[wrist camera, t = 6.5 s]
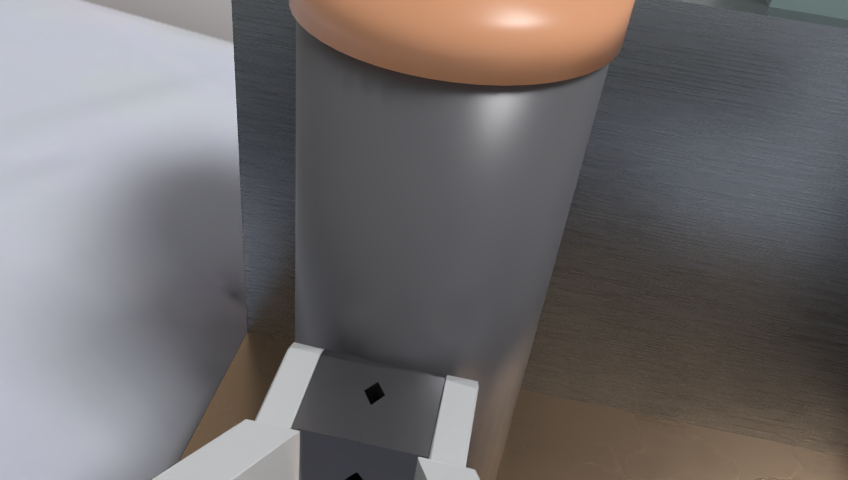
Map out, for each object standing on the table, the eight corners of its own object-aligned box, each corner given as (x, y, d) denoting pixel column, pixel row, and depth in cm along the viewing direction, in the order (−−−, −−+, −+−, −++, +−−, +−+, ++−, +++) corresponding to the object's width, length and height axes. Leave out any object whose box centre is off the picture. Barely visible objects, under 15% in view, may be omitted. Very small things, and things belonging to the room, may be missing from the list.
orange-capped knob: (258, 524, 15) (232, -25, 8) (390, 190, 25) (426, -183, 18) (489, 577, 15) (649, 48, 8) (530, 217, 24) (618, -154, 18)
